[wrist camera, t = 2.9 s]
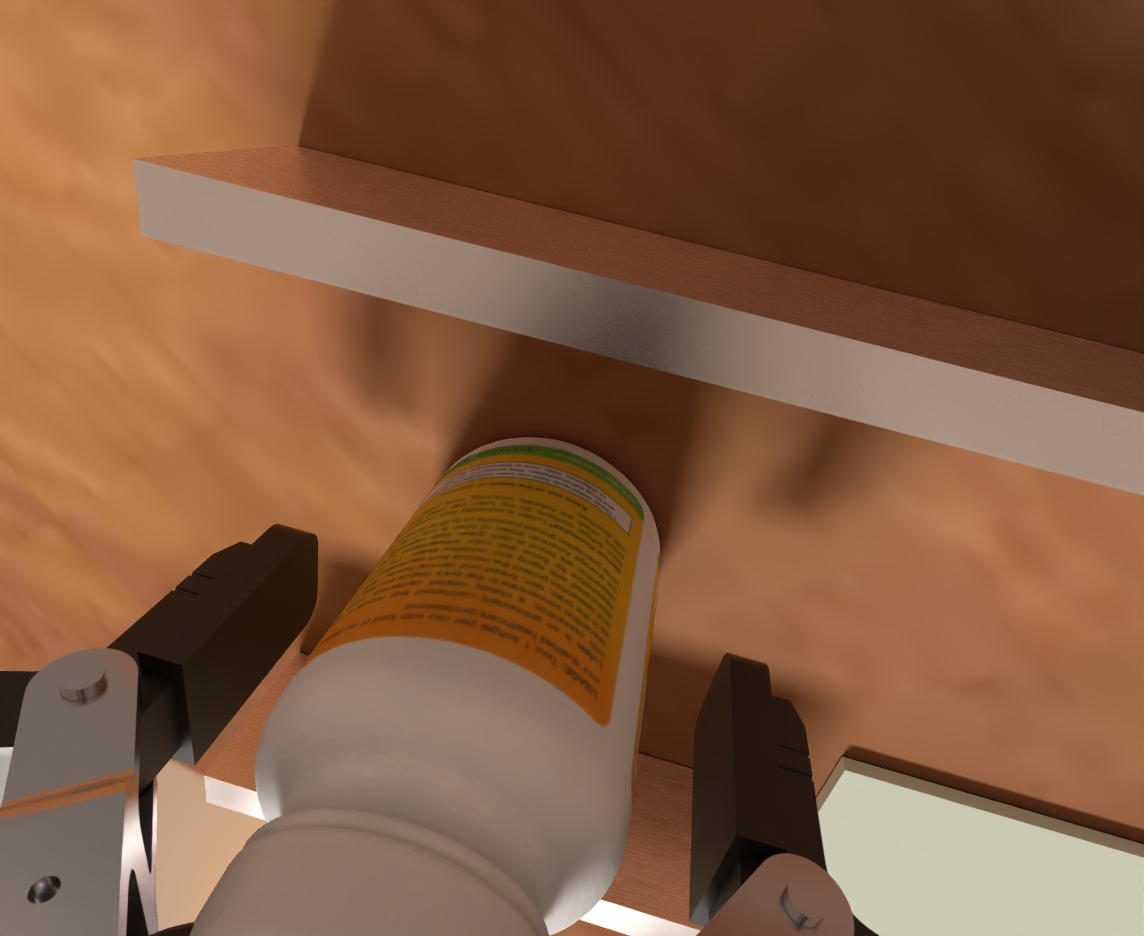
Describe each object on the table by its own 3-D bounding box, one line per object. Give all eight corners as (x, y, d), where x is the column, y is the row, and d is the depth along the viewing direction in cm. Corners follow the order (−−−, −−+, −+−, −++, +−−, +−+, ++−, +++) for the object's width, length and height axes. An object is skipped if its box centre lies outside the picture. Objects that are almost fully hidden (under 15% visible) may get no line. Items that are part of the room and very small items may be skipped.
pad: (842, 756, 17) (844, 770, 16) (1211, 863, 16) (1222, 880, 16) (750, 904, 20) (751, 918, 20) (1051, 997, 20) (1057, 1013, 19)
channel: (296, 145, 12) (132, 158, 9) (1834, 522, 11) (2379, 723, 7) (299, 765, 21) (217, 893, 18) (1138, 1024, 19) (1231, 1222, 16)
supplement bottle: (393, 462, 15) (-8, 901, 7) (618, 401, 13) (458, 884, 5) (486, 643, 17) (268, 1151, 9) (691, 609, 16) (665, 1199, 7)
